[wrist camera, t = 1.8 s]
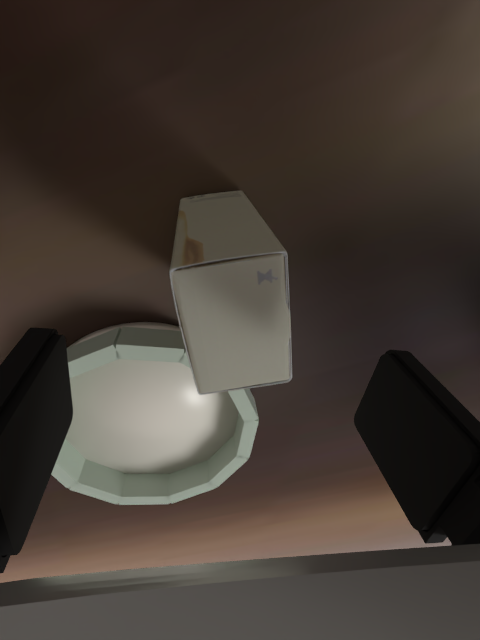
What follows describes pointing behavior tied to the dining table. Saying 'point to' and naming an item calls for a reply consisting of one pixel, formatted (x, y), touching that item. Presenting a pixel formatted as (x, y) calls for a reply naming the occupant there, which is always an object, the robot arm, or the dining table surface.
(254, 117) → the dining table surface
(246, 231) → the skincare box
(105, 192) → the dining table surface
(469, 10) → the dining table surface
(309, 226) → the dining table surface
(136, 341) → the round tray
